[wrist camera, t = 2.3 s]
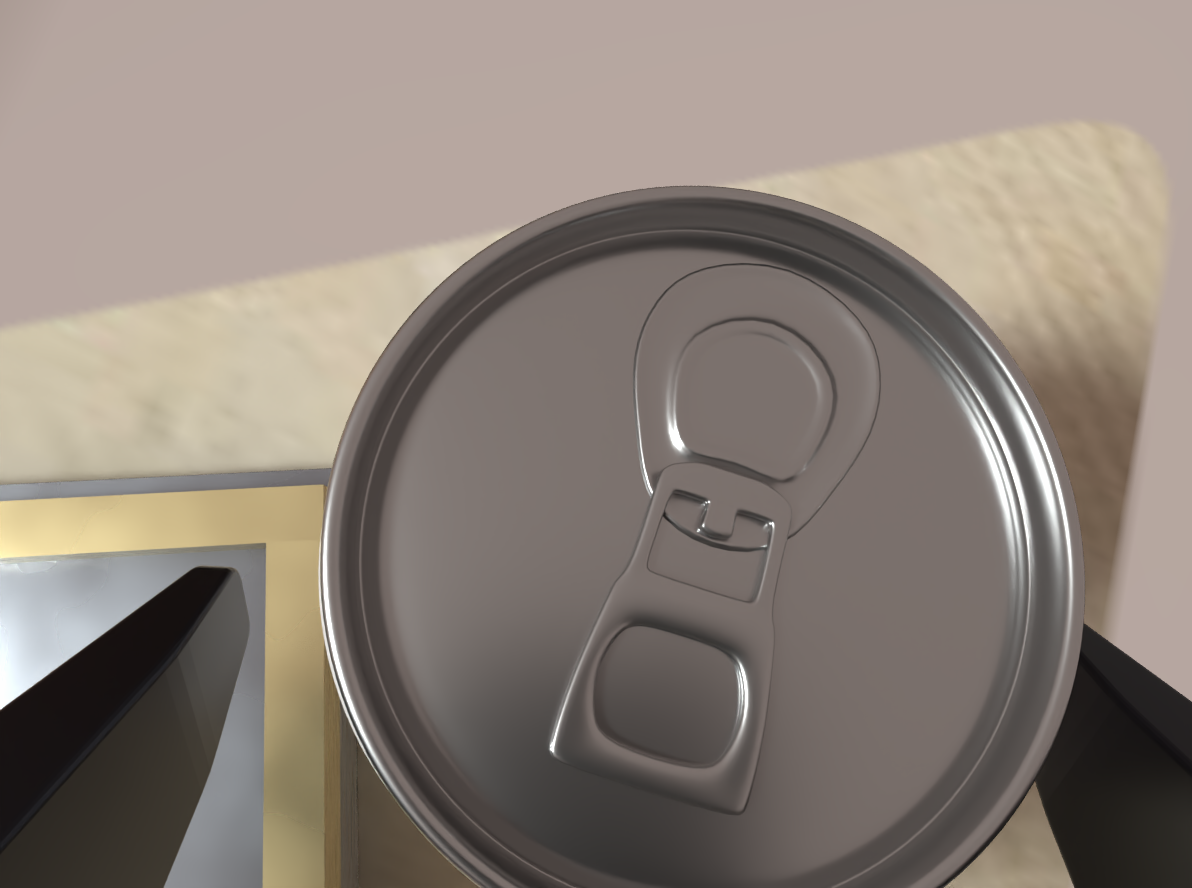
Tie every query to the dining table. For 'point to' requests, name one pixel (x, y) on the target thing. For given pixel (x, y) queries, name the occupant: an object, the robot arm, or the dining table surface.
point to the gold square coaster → (269, 667)
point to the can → (701, 557)
